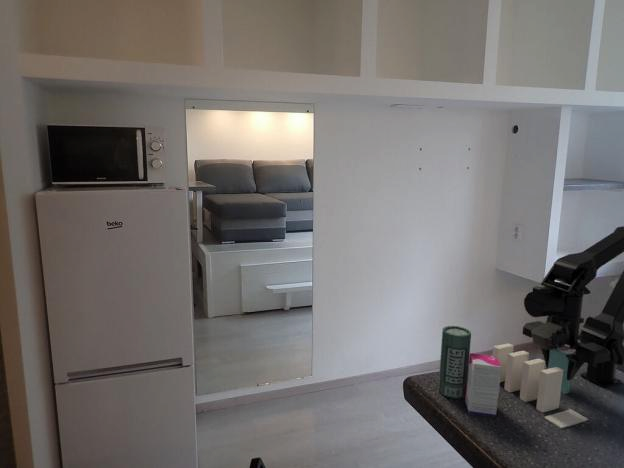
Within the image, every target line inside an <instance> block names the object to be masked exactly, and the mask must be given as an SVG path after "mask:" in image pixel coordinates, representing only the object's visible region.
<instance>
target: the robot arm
mask: <svg viewBox="0 0 624 468" xmlns="http://www.w3.org/2000/svg"><path fill="white" fill-rule="evenodd" d="M623 253H624V225H623V226H622V225H621V226H618V227H616V228H615V229H614V231H613V232H612V233H610V234H608V235H607V236H605V237H603V238H602V239H600V240H599V241H598V242H595V243H594V244H592V245H591V246H589V247H587V248H586V249H584V250H583V251H581V252H576V253H575V252H574V253H569V254H566V255H564V256H561V257H559V258H557V259H556V260H555V261H554V263H553V265H551V268H550V269H549V271H548V272H547V273H546V275H545V276H544V278H543V280H542V281H541V282H540V285H541V286H538V285H535V286H532V291H531V292H530V291H529V292H528V293H527V294H526V295H525V298H524V299H523V306H524V309H525V311H526V313H527V314H528V315H529V316H530V317H532V318H541V317H547V318H546V321H545V322H542V321H540V320H537V321H532V322H530V321H529V322H527V323H525V324H524V325H523V326H522V332H521V333H522V335H524V336H526V337H529V338H530V339H531V338H532V343H533V345H536V346H539V348H540V349H541V350H540V351H542V356H543V360H544V361H545V367H546V369H548V362H549V354H550V350H551V349H554V348H555V349H557V350H558V348H562V347H563V346H564V347H567V348H569V349H571V350H572V351H571V352H572V353H567V354H568V355H566V357H567V358H568V360H569V362H568V370H567V380H571V381H572V379H573V378H574V377H575V376H576V374H577V373H578V372H579V370H580V369H581V367H583V366H584V364H587V366H586V372H581V373H580V377H582V378H585V379H586V380H589V381H591V382H593V383H595V384H597V385H598V386H601V387H603V388H608V387H611V386H616V385H619V384H622V380H620V379H618V378H616V374H617V370H618V369H617V368H618V367H617V366H618V365H619V366H623V365H624V345H623V343H624V325H623V324H624V269H623V270H622V273H620V276H619V278H618V280H617V282H616V284H615V286H614V288H613V290H612V291H611V293H610V295H609V296H608V299H607V301H606V303H605V304H604V306H603V309H602V311H600V313H599V314H598V315H596V316H595V317H593V316H588V317H587V318H586V319H585V318H583V317H581V316H582V314H581V313H582V309H583V301H584V300H583V299H584V295H589V294H591V291H590V290H589V288H587V287H586V286H587V285H589V283H590V282H592V281H593V280H594V279H595V278H596V277H597V272H598V270H599V269H601V268H602V267H603V266H605V265H606V264H608V263H609V262H611V261H612V260H614V259H615V258H617V257H618V256H620V255H621V254H623ZM584 321H585V322H584ZM583 323H584V324H583ZM581 324H583V326H582V327H581V328H580V325H581ZM578 341H580V342H578Z"/></svg>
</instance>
